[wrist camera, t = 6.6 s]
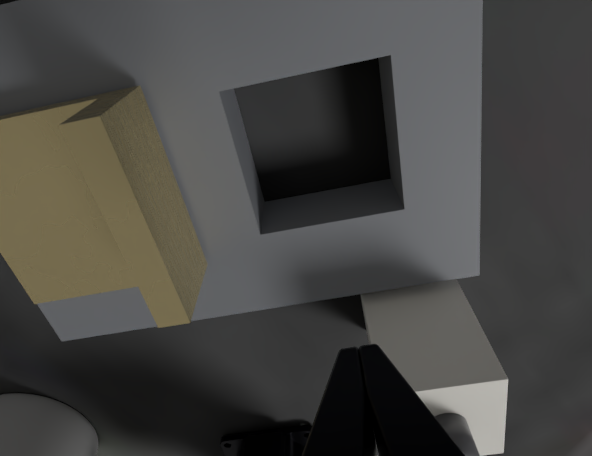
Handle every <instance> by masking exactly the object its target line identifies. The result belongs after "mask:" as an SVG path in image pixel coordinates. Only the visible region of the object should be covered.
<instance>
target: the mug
mask: <svg viewBox="0 0 592 456" xmlns="http://www.w3.org/2000/svg"><path fill="white" fill-rule="evenodd" d="M97 450H98V436H97V434H96V431H95V429H94V427H93V426H92V424H91V423H90V422H89V421H88V420H87V419H86V418H85V417H84V416H83V415H82V414H80V413H79V412H78V411H76V410H74V409H73V408H71V407H69V406H67V405H65V404H64V403H61V402H59V401H56V400H53V399H50V398H47V397H43V396H39V395H33V394H25V393H9V394H2V395H0V456H96V454H97Z"/></svg>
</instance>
